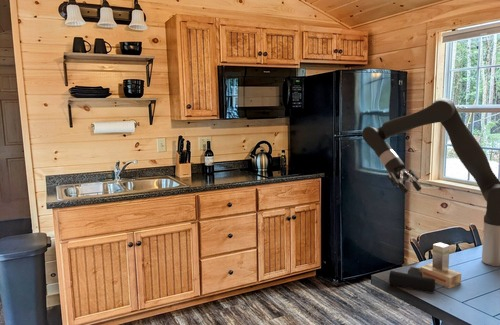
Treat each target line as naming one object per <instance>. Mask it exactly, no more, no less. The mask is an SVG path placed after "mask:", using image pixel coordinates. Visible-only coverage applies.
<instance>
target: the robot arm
mask: <svg viewBox="0 0 500 325" xmlns="http://www.w3.org/2000/svg"><path fill="white" fill-rule="evenodd" d="M436 123H440V124H441V125H442V127H443V128H444V129H445V131H446V134H448V138H449V140H450V144H451V145H452V148H453V151H454V152H455V154H456V156H457V158H458V159H459V160H460V162H461V164H462V165H463V167H464V168H465V169H466V170H467V172H468V173H470V175H471V177H473V180H475V182H476V184H477V186H478V189H479V191H480V192H481V195H482V197H483V199H484V200H485V202H486V208H485V209H486V210H485V214H484V215H483V229H482V230H483V231H482V248H481V249H482V252H481V261H482V263H484V264H486V265H489V266H493V267H500V179H499V178H498V177H497V176H496V175H495V173H494V172H493V170H492V168H491V165H490V163H489V160H488V156H487V155H486V153H485V151H484V150H483V147H481V145H480V143H479V142H478V140H477V139H476V138H475V136H474V134H473V133H472V131H470V128H468V127H467V126H466V124H465V123H464V121H463V119H462V118H461V115H460V113H459V111H458V110H457V107H456V105H455V103H454V102H453V101H452V99H449V98H447V97H440V98H437V99H436V100H434V101H433V102H432V103H431V104H430V105H428V106H427V107H425V108H423V109H421V110H419V111H416V112H414V113H413V112H412V113H410V114H406V115H403V116H399V117H396V118H393V119H390V120H388V121H385V122H384V123H382V125H381V126H380V127H378V128H375V127H374V126H371V125H370V126H366V127H364V128H363V130H362V132H361V137H362V139H363V140H364V141H365V143H366V144H367V145H368V146H369V148H371V149H372V150H373V151H374V153H375V155H376V156H377V158H378V159H379V160H380V163H381V164H382V165H383V167H384V168H385V170H386V171H387V172H388V174H387V178H388V180H389V181H390V182H391V184H392V186H394V187H398V188H399V190H400V191H401V192H402V193H403V194H405V195H406V194H407V193H408V192H409V189H408V188H407V187H406V185H405V184H404V183H403V182H406V183H410V184H412V186H413V188H415V191H417V192H419V191H421V190H422V186H421V185H420V183H419V182H418V181H419V180H420V178H419V177H418V175H417V174H416V173H415V172H414V170H413V169H411V168H410V169H408V170H407V169H406V168H405V167H406V165H405V163H404V162H403V160H402V159H401V158H400V156H399V155H398V154H397V152H396V151H394V149H393V148H392V147H391V145H390V144H389V143H388V142H387V141H386V140H388V139H389V138H390V137H394V136H397V135H399V134H402V133H405V132H407V131H411V130H413V129H416V128H418V127H422V126H426V125H432V124H436Z"/></svg>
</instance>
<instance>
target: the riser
mask: <svg viewBox="0 0 500 325" xmlns="http://www.w3.org/2000/svg"><path fill="white" fill-rule="evenodd" d="M432 263H433V262H431V263H428V264H425V265H422V266H420V268H422V273H423V277H426V278H431V279H435V284H438V285H440V286H443V287H445V288H447V289H451V288H454V287H456V286H458V285H461V284H462V273H461V272H458V271H455V270H453V269H451V268H449V271H446V272H443V273H441V272H438V271H435V270H433V269H432Z"/></svg>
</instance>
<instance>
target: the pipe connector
mask: <svg viewBox="0 0 500 325" xmlns="http://www.w3.org/2000/svg"><path fill="white" fill-rule="evenodd" d="M388 284H389V285H393V286H396V287H402V288H407V289H411V290H416V291H421V292H424V293H425V292H426V293H430V294H434V293H435V289H436V283H435V279H431V278H426V277H423V273H422V268H421V267H415V266H410V267H409V269H408V270H407V273H406V272H405V273H404V272H400V271H395V270H390V272H389V276H388Z"/></svg>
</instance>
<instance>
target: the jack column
mask: <svg viewBox="0 0 500 325" xmlns="http://www.w3.org/2000/svg"><path fill="white" fill-rule="evenodd" d="M431 263H432V269H433V270H435V271H438V272H441V273H443V272H446V271H449V269H450V267H449V266H450V265H449V264H450V245H449V244H446V243H443V242H437V243H433V244H432V262H431Z"/></svg>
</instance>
